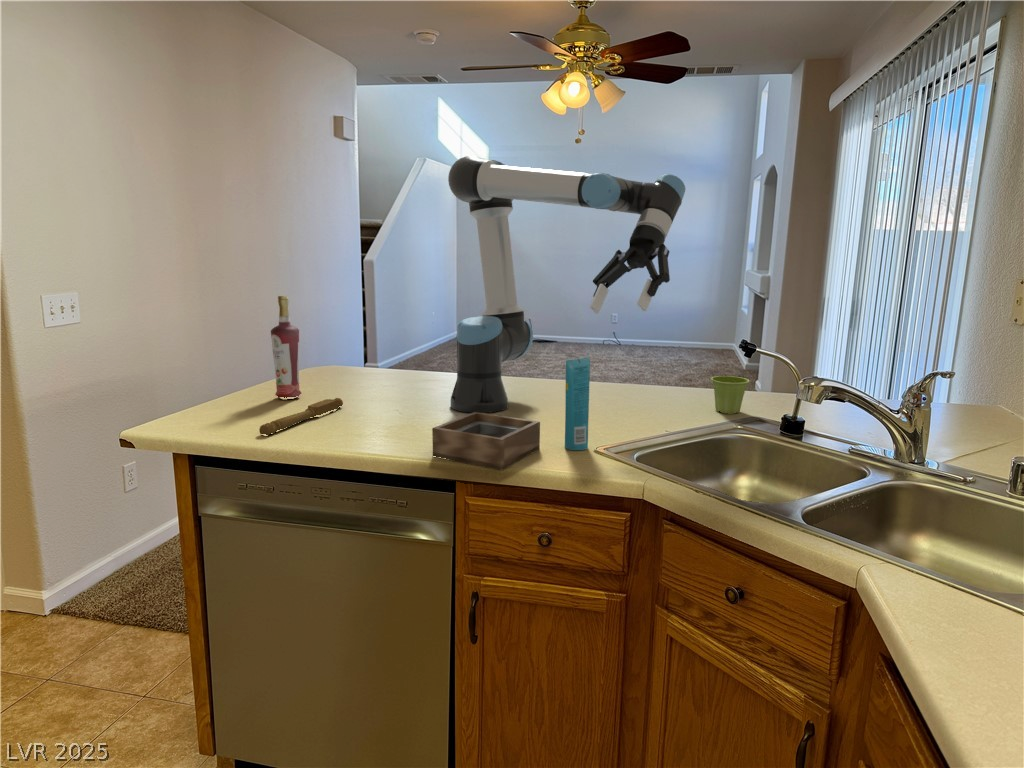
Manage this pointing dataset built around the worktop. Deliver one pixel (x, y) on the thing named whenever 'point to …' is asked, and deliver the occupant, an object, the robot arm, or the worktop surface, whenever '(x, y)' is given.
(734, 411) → the plant pot
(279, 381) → the liquor
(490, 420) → the crate
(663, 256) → the robot arm
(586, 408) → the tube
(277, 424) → the tap handle
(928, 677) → the worktop surface
